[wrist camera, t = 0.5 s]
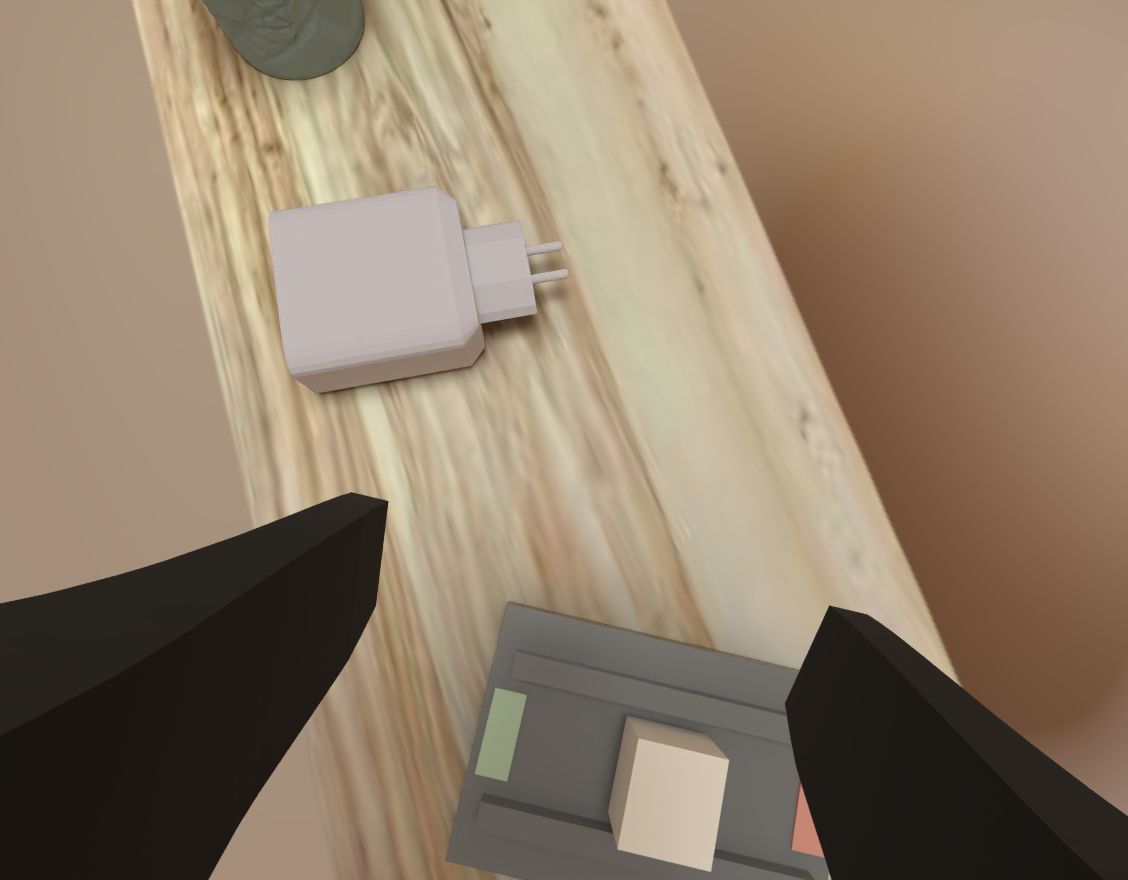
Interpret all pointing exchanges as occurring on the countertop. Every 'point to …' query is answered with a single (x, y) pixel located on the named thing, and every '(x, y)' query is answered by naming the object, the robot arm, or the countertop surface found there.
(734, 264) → the countertop surface
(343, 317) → the charger
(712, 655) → the switch track
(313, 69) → the grey cup
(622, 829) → the slider knob
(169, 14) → the countertop surface
